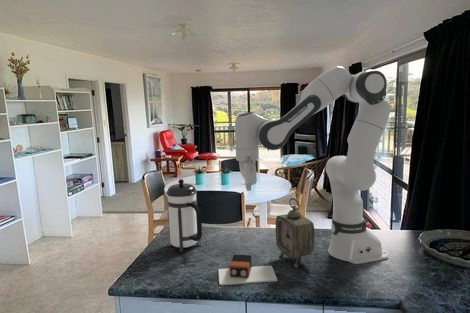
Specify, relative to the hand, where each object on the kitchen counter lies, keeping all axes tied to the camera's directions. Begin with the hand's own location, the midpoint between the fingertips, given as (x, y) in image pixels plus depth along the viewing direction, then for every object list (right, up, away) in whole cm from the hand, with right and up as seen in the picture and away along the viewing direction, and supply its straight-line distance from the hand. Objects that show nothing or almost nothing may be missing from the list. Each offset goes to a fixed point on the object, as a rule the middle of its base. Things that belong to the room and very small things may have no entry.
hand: (248, 189), depth 127 cm
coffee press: (-26, -26, +15) cm, 40 cm away
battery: (-2, -26, -5) cm, 26 cm away
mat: (-1, -30, -11) cm, 32 cm away
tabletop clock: (+18, -28, -1) cm, 33 cm away
